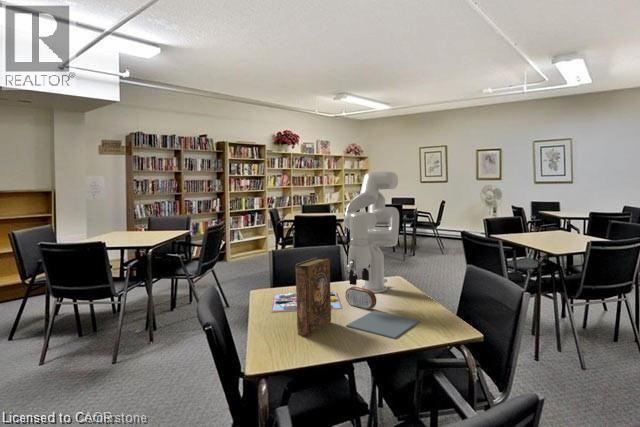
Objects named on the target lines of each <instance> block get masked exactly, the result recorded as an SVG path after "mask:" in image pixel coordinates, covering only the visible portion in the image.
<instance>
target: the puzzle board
mask: <svg viewBox="0 0 640 427" xmlns="http://www.w3.org/2000/svg"><path fill="white" fill-rule="evenodd" d="M330 295H331V310H342V309H343V306H342V303H341V300H340V299H339V296H338V293H337V292H333V291H330ZM270 312H271V313H287V312H297V299H296V292H288V293H284V294H283V293H280V294H273V297H272V302H271V308H270Z"/></svg>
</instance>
